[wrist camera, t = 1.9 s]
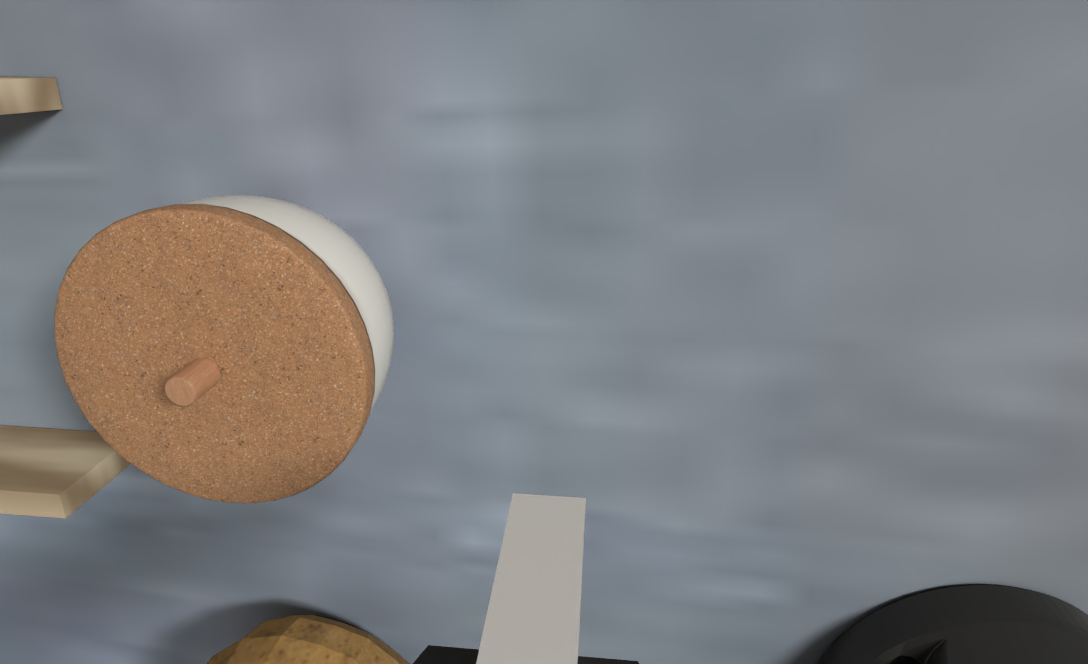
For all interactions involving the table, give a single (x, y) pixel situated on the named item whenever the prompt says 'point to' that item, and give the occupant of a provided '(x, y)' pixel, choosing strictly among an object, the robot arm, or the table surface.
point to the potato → (307, 644)
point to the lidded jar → (226, 344)
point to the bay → (42, 453)
